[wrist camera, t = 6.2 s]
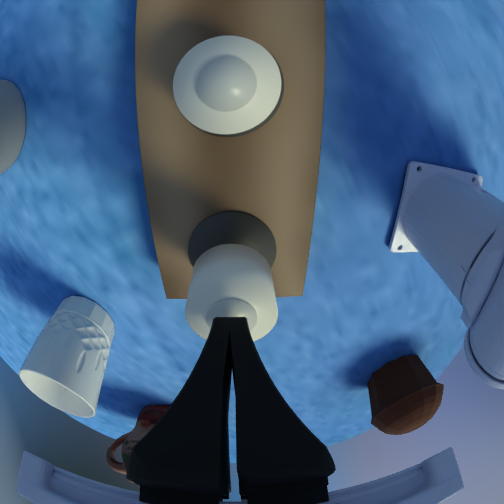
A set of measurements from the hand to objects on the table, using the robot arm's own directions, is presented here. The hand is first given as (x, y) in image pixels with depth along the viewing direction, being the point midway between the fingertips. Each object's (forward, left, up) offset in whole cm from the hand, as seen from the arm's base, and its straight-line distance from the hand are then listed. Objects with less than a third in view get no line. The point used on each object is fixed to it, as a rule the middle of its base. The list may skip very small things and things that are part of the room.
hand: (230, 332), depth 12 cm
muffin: (-23, +24, -10) cm, 35 cm away
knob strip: (0, -10, -10) cm, 14 cm away
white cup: (+16, +10, -10) cm, 22 cm away
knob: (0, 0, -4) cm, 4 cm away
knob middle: (0, -10, -7) cm, 12 cm away
